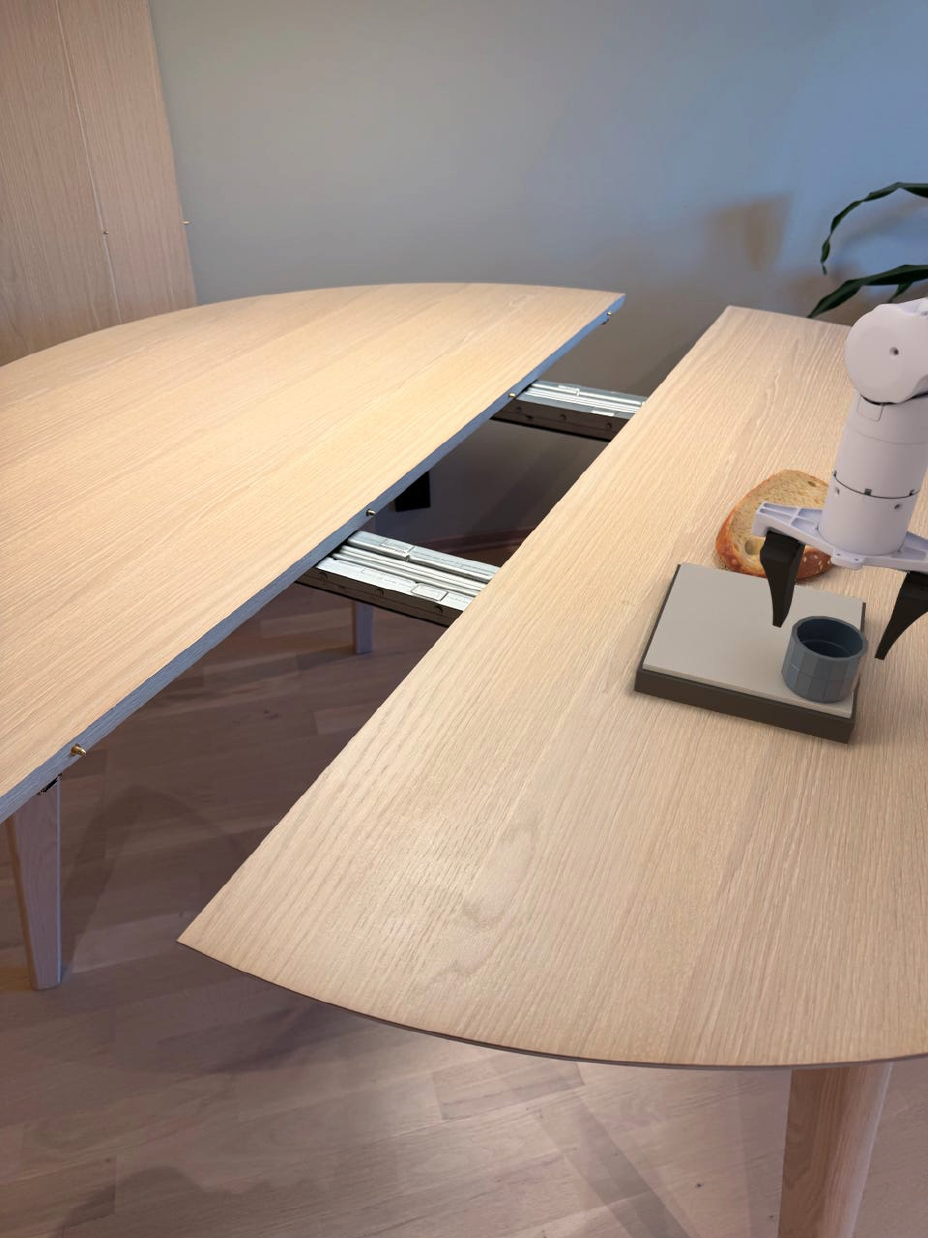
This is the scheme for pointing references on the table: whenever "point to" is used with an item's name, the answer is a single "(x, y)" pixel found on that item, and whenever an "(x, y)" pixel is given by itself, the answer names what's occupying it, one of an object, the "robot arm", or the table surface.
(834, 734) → the scale
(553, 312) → the table surface
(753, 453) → the table surface
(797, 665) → the cup
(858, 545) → the robot arm
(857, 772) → the table surface
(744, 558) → the slice of bread
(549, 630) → the table surface
